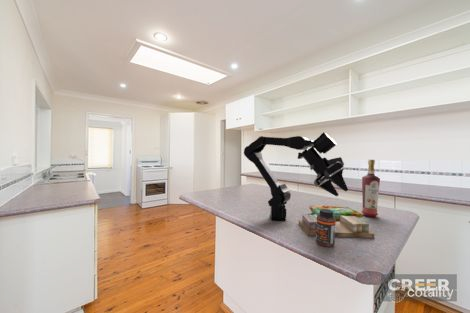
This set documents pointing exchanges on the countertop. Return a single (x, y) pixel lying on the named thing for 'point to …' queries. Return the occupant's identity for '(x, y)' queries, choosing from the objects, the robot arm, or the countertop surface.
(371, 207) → the liquor
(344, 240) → the countertop surface
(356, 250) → the countertop surface
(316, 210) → the puzzle game
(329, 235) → the supplement bottle
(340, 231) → the book rack
